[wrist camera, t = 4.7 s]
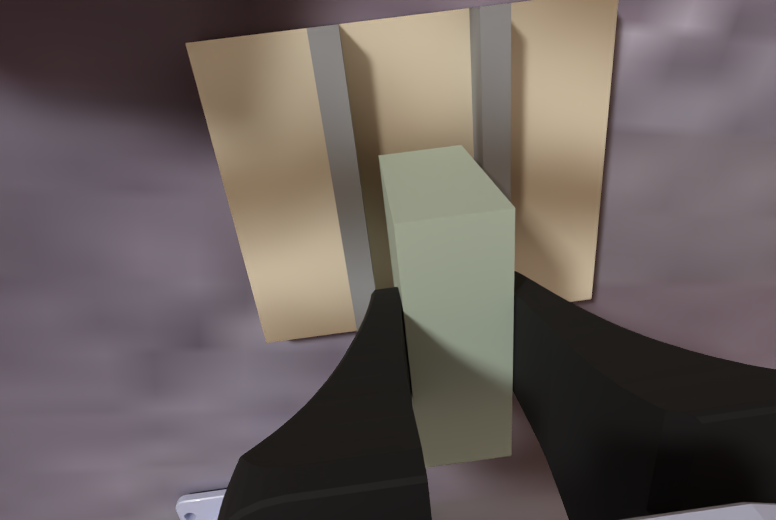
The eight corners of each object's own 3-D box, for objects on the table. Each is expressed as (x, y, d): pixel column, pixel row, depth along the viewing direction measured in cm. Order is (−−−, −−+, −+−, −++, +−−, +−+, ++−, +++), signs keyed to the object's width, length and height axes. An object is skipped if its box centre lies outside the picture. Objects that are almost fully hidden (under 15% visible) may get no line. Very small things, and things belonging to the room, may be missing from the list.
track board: (579, 285, 19) (607, 316, 17) (270, 327, 18) (261, 363, 16) (601, -8, 14) (643, -14, 12) (195, 42, 14) (170, 44, 12)
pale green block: (468, 340, 17) (511, 455, 13) (401, 349, 17) (420, 468, 13) (461, 144, 14) (515, 207, 9) (378, 155, 14) (394, 224, 9)
